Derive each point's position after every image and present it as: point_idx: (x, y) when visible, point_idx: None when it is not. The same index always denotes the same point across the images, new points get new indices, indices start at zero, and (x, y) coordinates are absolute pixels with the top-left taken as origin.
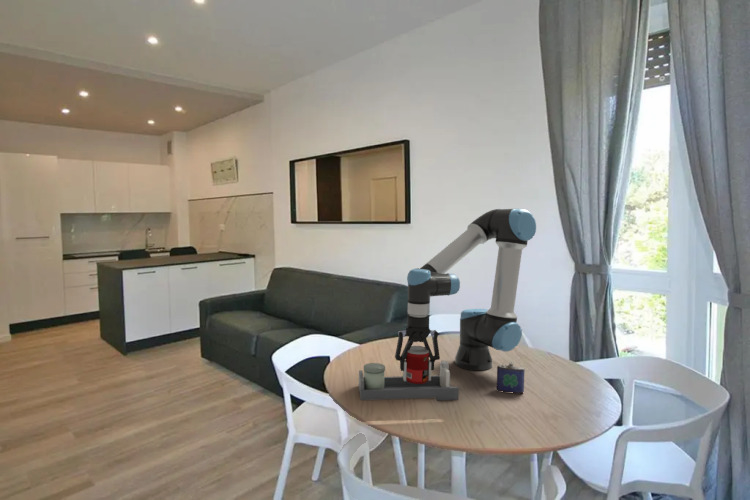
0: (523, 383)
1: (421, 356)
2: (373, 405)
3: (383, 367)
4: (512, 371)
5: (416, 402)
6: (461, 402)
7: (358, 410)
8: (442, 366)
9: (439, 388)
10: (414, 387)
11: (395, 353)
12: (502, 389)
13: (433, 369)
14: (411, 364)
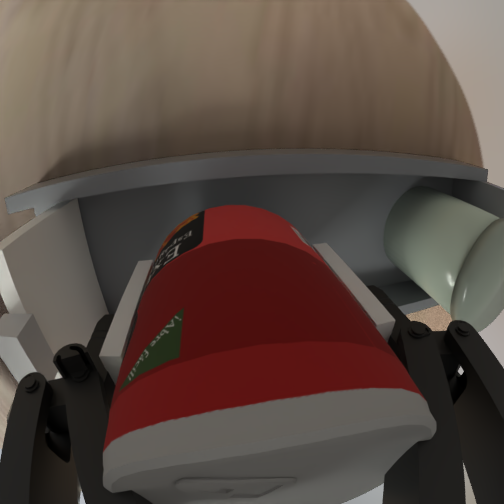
0: None
1: (232, 366)
2: (425, 129)
3: (478, 275)
4: None
5: (242, 133)
6: (29, 154)
7: (461, 104)
8: (36, 334)
9: (93, 178)
10: None
11: (460, 389)
12: None
13: (103, 319)
14: (342, 287)
